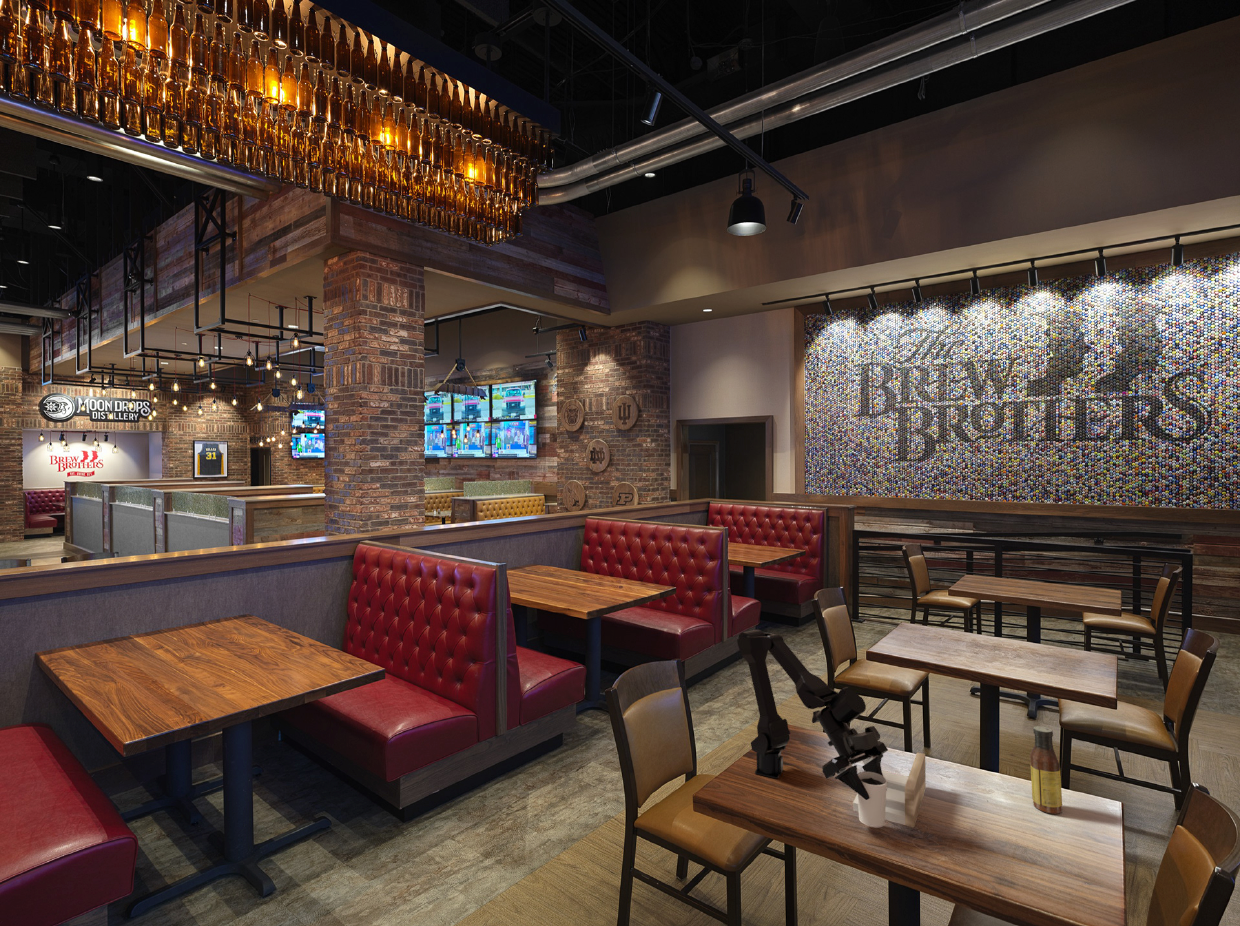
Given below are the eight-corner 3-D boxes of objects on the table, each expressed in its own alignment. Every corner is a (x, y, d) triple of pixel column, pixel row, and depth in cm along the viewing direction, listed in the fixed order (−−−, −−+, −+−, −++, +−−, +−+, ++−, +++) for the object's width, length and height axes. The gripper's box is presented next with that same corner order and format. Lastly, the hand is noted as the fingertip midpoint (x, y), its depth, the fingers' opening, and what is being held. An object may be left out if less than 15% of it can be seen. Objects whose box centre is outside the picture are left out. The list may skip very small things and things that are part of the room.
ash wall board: (905, 825, 150) (904, 787, 150) (917, 785, 168) (917, 752, 168) (914, 827, 149) (913, 789, 149) (925, 787, 167) (925, 754, 167)
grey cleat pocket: (853, 810, 156) (852, 796, 156) (870, 774, 175) (870, 761, 175) (905, 825, 150) (904, 810, 150) (917, 785, 168) (917, 772, 168)
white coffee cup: (851, 814, 150) (851, 773, 150) (874, 810, 152) (874, 770, 152) (868, 830, 144) (868, 787, 144) (893, 826, 146) (893, 783, 146)
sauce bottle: (1067, 810, 156) (1065, 731, 156) (1054, 818, 152) (1053, 736, 153) (1038, 799, 161) (1037, 722, 161) (1025, 805, 158) (1024, 727, 158)
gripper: (832, 725, 146) (873, 793, 137) (881, 708, 156) (922, 770, 147) (805, 745, 153) (843, 811, 144) (854, 728, 163) (892, 789, 154)
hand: (876, 795), depth 147 cm, fingers closed on white coffee cup, 6 cm apart
